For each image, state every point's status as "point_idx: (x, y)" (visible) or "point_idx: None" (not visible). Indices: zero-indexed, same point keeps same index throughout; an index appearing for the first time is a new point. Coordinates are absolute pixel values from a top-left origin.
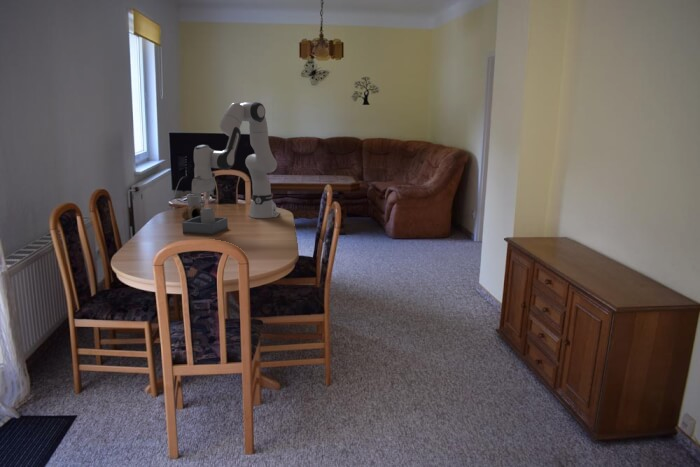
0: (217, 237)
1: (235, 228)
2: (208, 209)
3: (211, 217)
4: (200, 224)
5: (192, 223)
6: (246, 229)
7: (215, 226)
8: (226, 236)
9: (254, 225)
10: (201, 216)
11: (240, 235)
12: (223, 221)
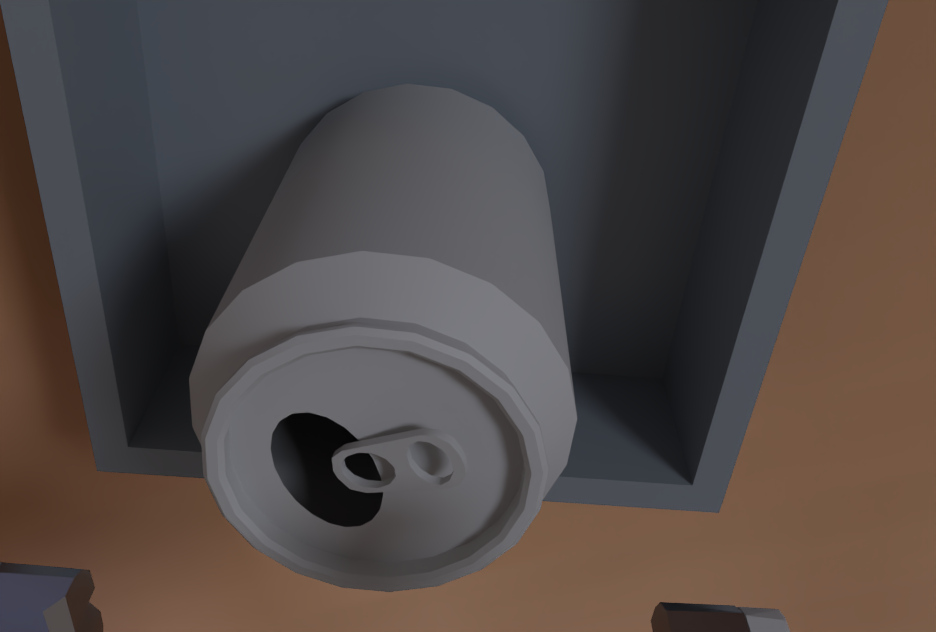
0: (59, 444)
1: None
2: (254, 535)
3: (314, 435)
4: (61, 243)
5: (17, 55)
6: (618, 601)
7: None
8: (161, 518)
9: (878, 619)
10: (257, 244)
11: (273, 625)
12: None
